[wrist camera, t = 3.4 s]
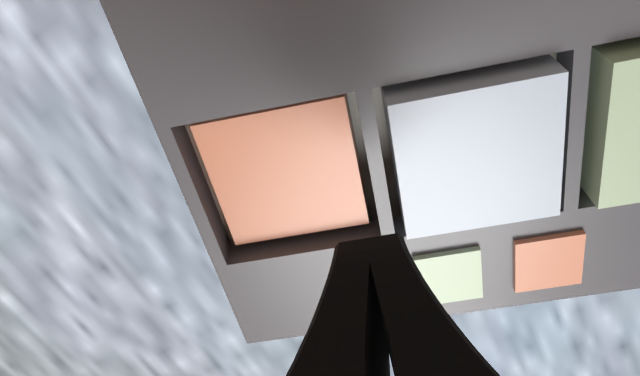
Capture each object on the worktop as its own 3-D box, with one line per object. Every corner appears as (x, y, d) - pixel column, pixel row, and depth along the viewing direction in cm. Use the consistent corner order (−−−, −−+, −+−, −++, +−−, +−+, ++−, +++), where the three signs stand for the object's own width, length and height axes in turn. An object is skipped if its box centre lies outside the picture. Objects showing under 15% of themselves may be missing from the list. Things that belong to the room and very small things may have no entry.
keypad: (736, -187, 13) (910, -200, 9) (663, 191, 20) (748, 277, 16) (150, -49, 15) (90, -12, 11) (259, 256, 22) (246, 347, 18)
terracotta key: (341, 64, 15) (344, 96, 13) (363, 182, 18) (369, 223, 16) (205, 92, 16) (189, 126, 14) (244, 202, 18) (235, 245, 16)
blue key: (534, 40, 14) (568, 71, 12) (531, 171, 16) (559, 215, 14) (378, 70, 14) (387, 106, 12) (396, 193, 17) (407, 239, 15)
